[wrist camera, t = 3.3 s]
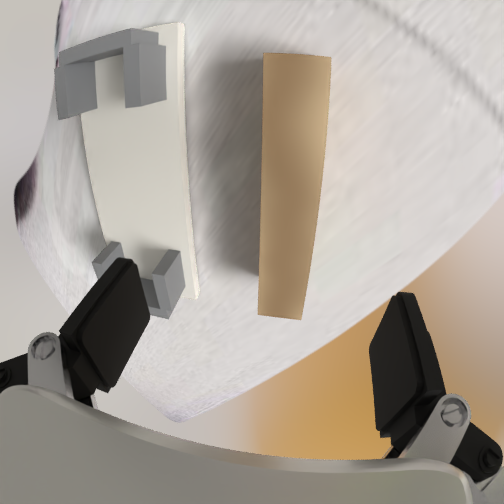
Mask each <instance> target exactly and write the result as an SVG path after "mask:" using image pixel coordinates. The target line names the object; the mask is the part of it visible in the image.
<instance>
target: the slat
mask: <svg viewBox="0 0 504 504" xmlns="http://www.w3.org/2000/svg"><path fill="white" fill-rule="evenodd" d="M330 78H331V57H324V56H315V55H303V54H287V53H263V114H262V168H261V213H260V253H259V289H258V315H264V316H271V317H279V318H288V319H296V320H301V318H302V312H303V307H304V301H305V296H306V290H307V284H308V278H309V272H310V266H311V260H312V253H313V246H314V240H315V233H316V225H317V218H318V210H319V202H320V194H321V186H322V177H323V168H324V158H325V147H326V136H327V124H328V111H329V96H330Z"/></svg>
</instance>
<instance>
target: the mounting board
mask: <svg viewBox="0 0 504 504" xmlns="http://www.w3.org/2000/svg"><path fill="white" fill-rule="evenodd" d="M184 34H185V24H183V23H180V22H175V23H169V24H163V25H158V26H153V27H148V28H143V29H133V28H130V29H127V30H123V31H119V32H116V33H112V34H109V35H106V36H102V37H99V38H96V39H93V40H90V41H87V42H85V43H82V44H79V45H76V46H74V47H71V48H69V49H66V50H64V51H61V52H59V67H58V68H55V69H54V71H55V89H56V101H57V111H58V120H61V119H66V118H70V117H72V116H75V115H78V114H81V123H82V131H83V138H84V145H85V152H86V158H87V164H88V169H89V175H90V180H91V185H92V190H93V194H94V199H95V203H96V208H97V212H98V216H99V220H100V224H101V228H102V232H103V236H104V239H105V243H106V248H105V249H104V250H103V251H102V252H101V253H100V254H99V255H98V256H97V257H96V258H95V259H94V261H93V262H92V264H93V267H94V270H95V273H96V276H97V278H98V280H99V278H100V277H101V276H102V275H103V274H104V272H105V271H106V270H107V269H108V268H109V266H110V265H111V264H112V263H113V262H114V261H115V259H116V258H118V257H122V258H128V259H132V260H133V261H134V263H135V264H137V266H138V270H139V274H140V278H141V282H142V286H143V290H144V294H145V297H146V301H147V305H148V308H149V312H150V315H153V316H157V317H161V318H166V319H169V317H170V315H171V313H172V311H173V309H174V307H175V306H176V304H177V302H178V300H179V298H185V299H191V300H196V299H197V297H198V295H199V293H200V291H199V283H198V275H197V266H196V257H195V248H194V238H193V228H192V217H191V205H190V193H189V179H188V163H187V145H186V123H185V88H184Z"/></svg>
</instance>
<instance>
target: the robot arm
mask: <svg viewBox="0 0 504 504" xmlns="http://www.w3.org/2000/svg"><path fill="white" fill-rule="evenodd" d="M149 320H150V312H149V308H148V305H147V301H146V297H145V294H144V290H143V286H142V282H141V278H140V274H139V270H138V266H137V264H135V263H134V261H133V260H132V259H128V258H122V257H118V258H116V259H115V261H114V262H113V263H112V264H111V265H110V266H109V268H108V269H107V270H106V271H105V272H104V274H103V275H102V276H101V277H100V278H99V280H98V281H97V282H96V283H95V285H94V286H93V287H92V288H91V289H90V291H89V292H88V293H87V295H86V296H85V297H84V298H83V300H82V301H81V302H80V303H79V305H78V306H77V307H76V309H75V310H74V311H73V313H72V314H71V315H70V317H69V318H68V320H67V321H66V322H65V323H64V325H63V326H62V328H61V329H60V330H59V332H60V335H59V336H57V335H56V334H54V333H50V332H46V333H42V334H40V335H38V336H37V337H35V338H34V339H33V340H32V341H31V343H30V345H29V347H28V353H26V354H24V355H21V356H18V357H15V358H13V359H10V360H7V361H4V362H1V363H0V504H504V466H503V467H502V466H501V464H502V460H503V455H502V450H501V448H500V446H499V445H498V444H497V443H496V442H495V441H494V440H492V439H491V438H490V437H489V436H488V435H486V434H485V433H484V432H483V431H481V430H480V429H479V428H478V427H476V426H475V425H474V424H473V423H471V422H470V419H471V410H470V407H469V405H468V403H467V401H466V400H465V399H464V398H463V397H461V396H459V395H457V394H452V393H451V394H446V391H445V387H444V382H443V378H442V375H441V370H440V367H439V363H438V359H437V356H436V353H435V349H434V346H433V343H432V340H431V336H430V334H429V332H428V331H427V329H426V326H425V323H424V320H423V317H422V314H421V311H420V308H419V306H418V303H417V300H416V297H415V295H414V294H413V293H407V292H398V293H397V295H396V296H392V298H391V300H390V302H389V305H388V307H387V309H386V311H385V314H384V316H383V318H382V320H381V322H380V325H379V327H378V329H377V331H376V333H375V335H374V337H373V339H372V341H371V343H370V347H369V356H370V364H371V373H372V383H373V394H374V406H375V422H376V429H377V430H378V431H380V438H385V437H391V447H390V448H389V449H388V451H387V452H386V453H385V455H384V456H383V457H382V458H381V459H373V460H318V459H300V458H288V457H278V456H269V455H261V454H254V453H247V452H240V451H235V450H230V449H224V448H219V447H214V446H209V445H205V444H201V443H196V442H193V441H189V440H185V439H181V438H177V437H174V436H170V435H167V434H163V433H160V432H157V431H153V430H151V429H147V428H144V427H141V426H138V425H135V424H133V423H130V422H127V421H125V420H122V419H119V418H117V417H114V416H111V415H109V414H107V413H104V412H102V411H99V410H98V407H97V404H96V400H95V395H94V392H95V390H96V388H97V389H99V390H101V391H104V392H107V393H108V392H109V390H110V388H111V387H114V386H115V385H116V383H117V381H118V379H119V377H120V375H121V373H122V371H123V369H124V368H125V366H126V364H127V362H128V360H129V358H130V356H131V354H132V352H133V350H134V348H135V347H136V345H137V343H138V341H139V339H140V337H141V335H142V334H143V332H144V330H145V328H146V326H147V324H148V323H149Z"/></svg>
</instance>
